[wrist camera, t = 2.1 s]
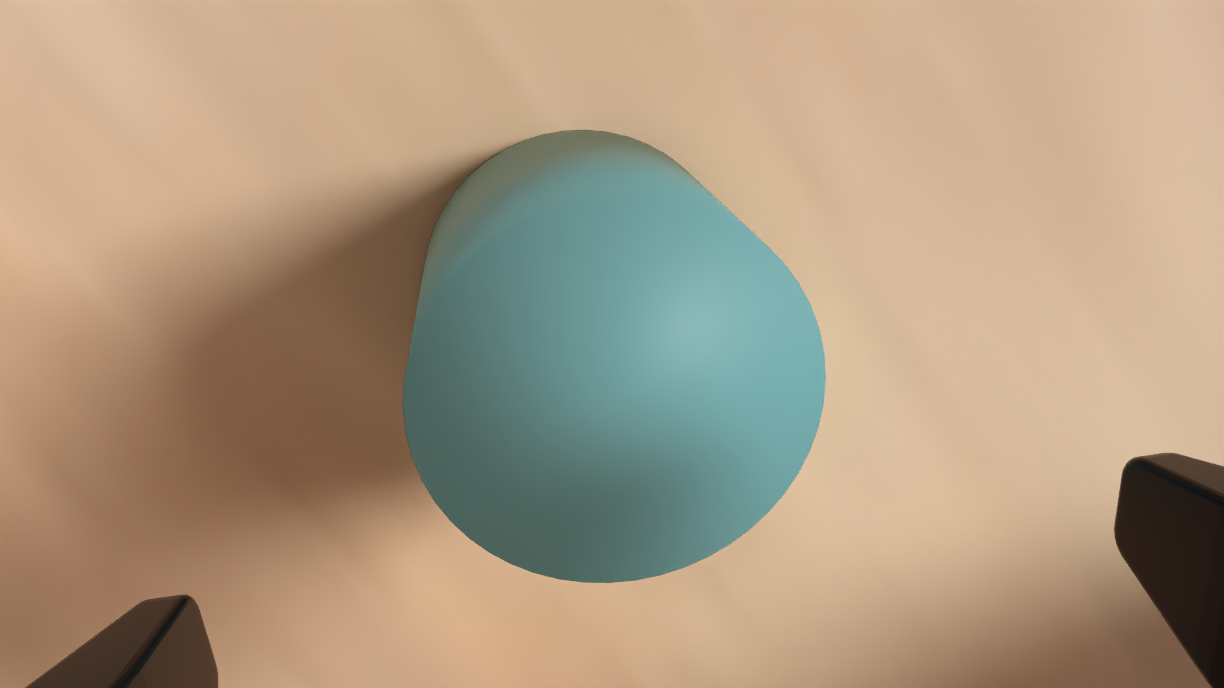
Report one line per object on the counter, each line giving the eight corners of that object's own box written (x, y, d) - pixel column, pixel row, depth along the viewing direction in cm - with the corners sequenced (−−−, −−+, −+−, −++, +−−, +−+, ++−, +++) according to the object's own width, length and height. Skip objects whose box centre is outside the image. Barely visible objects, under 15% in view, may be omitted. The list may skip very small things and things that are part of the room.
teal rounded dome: (725, 113, 16) (827, 170, 11) (735, 403, 18) (824, 552, 13) (399, 147, 15) (366, 221, 11) (447, 442, 17) (438, 610, 13)
